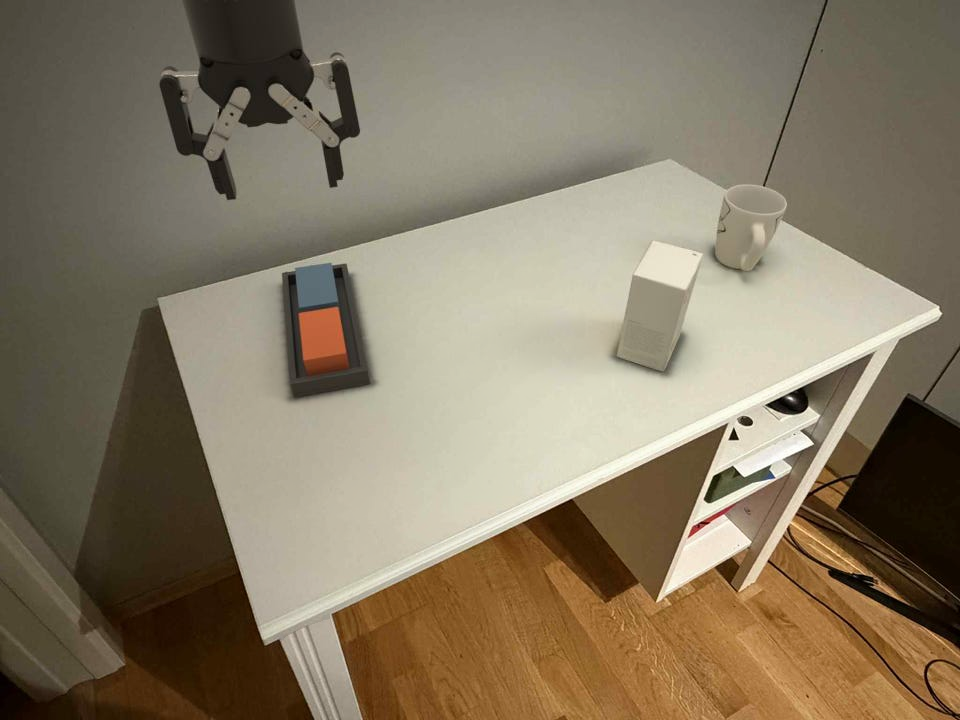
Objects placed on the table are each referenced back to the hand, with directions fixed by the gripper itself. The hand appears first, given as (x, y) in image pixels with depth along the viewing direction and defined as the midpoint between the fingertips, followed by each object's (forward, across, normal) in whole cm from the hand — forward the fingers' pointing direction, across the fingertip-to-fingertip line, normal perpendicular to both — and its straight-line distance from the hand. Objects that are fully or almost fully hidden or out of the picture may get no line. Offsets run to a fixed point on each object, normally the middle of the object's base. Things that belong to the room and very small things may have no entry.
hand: (283, 189), depth 55 cm
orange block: (+28, 0, +9) cm, 29 cm away
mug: (+28, +62, +14) cm, 69 cm away
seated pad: (+28, 0, +19) cm, 33 cm away
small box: (+28, +40, 0) cm, 49 cm away
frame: (+28, 0, +14) cm, 31 cm away
